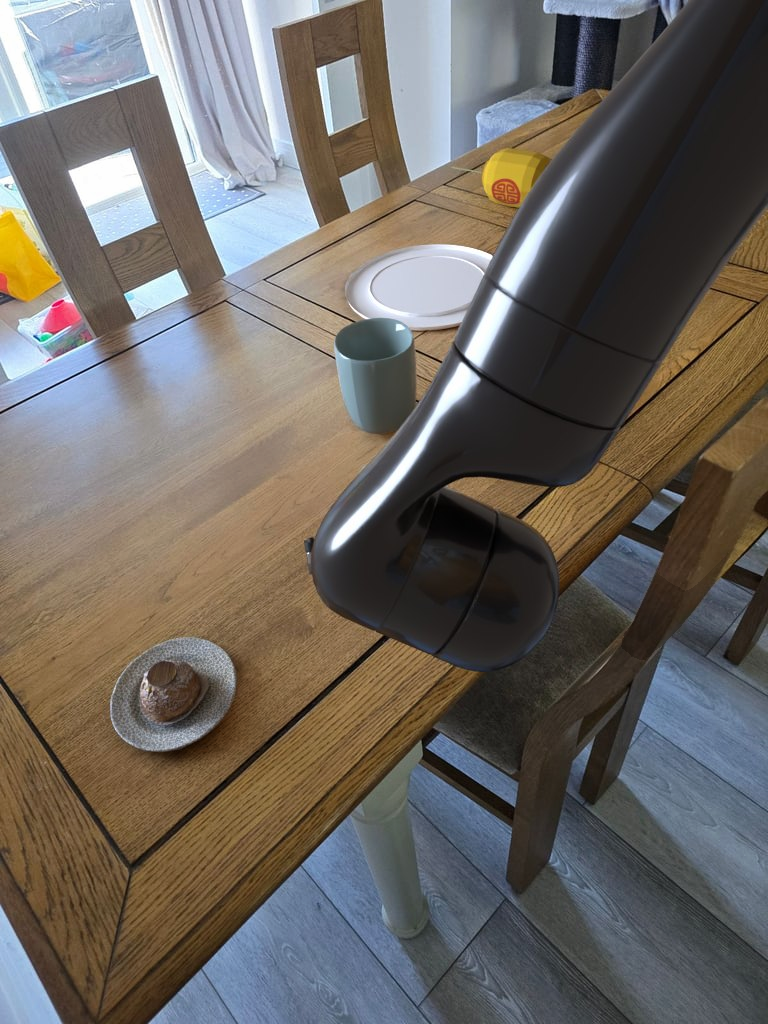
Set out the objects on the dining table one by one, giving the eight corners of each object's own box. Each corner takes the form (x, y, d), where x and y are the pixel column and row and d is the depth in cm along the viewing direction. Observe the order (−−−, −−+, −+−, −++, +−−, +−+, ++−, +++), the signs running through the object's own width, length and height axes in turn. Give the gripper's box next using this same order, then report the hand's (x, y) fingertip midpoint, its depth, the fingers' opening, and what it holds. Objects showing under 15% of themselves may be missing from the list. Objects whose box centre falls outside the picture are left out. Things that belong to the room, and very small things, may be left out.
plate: (401, 237, 131) (400, 233, 130) (539, 265, 119) (540, 261, 118) (312, 307, 115) (311, 303, 115) (461, 348, 103) (461, 344, 103)
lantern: (604, 149, 124) (460, 129, 138) (580, 182, 121) (435, 158, 134) (602, 200, 133) (466, 176, 146) (579, 231, 129) (442, 204, 143)
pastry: (91, 699, 67) (72, 674, 64) (194, 623, 73) (181, 596, 69) (156, 783, 61) (138, 760, 58) (264, 692, 66) (253, 667, 63)
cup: (353, 451, 89) (341, 369, 80) (339, 407, 96) (326, 326, 87) (427, 436, 90) (423, 352, 81) (409, 392, 97) (403, 311, 88)
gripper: (495, 474, 47) (456, 482, 63) (287, 510, 46) (301, 510, 62) (514, 583, 47) (470, 563, 63) (307, 621, 46) (316, 592, 63)
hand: (386, 537), depth 63 cm, fingers open, 8 cm apart
